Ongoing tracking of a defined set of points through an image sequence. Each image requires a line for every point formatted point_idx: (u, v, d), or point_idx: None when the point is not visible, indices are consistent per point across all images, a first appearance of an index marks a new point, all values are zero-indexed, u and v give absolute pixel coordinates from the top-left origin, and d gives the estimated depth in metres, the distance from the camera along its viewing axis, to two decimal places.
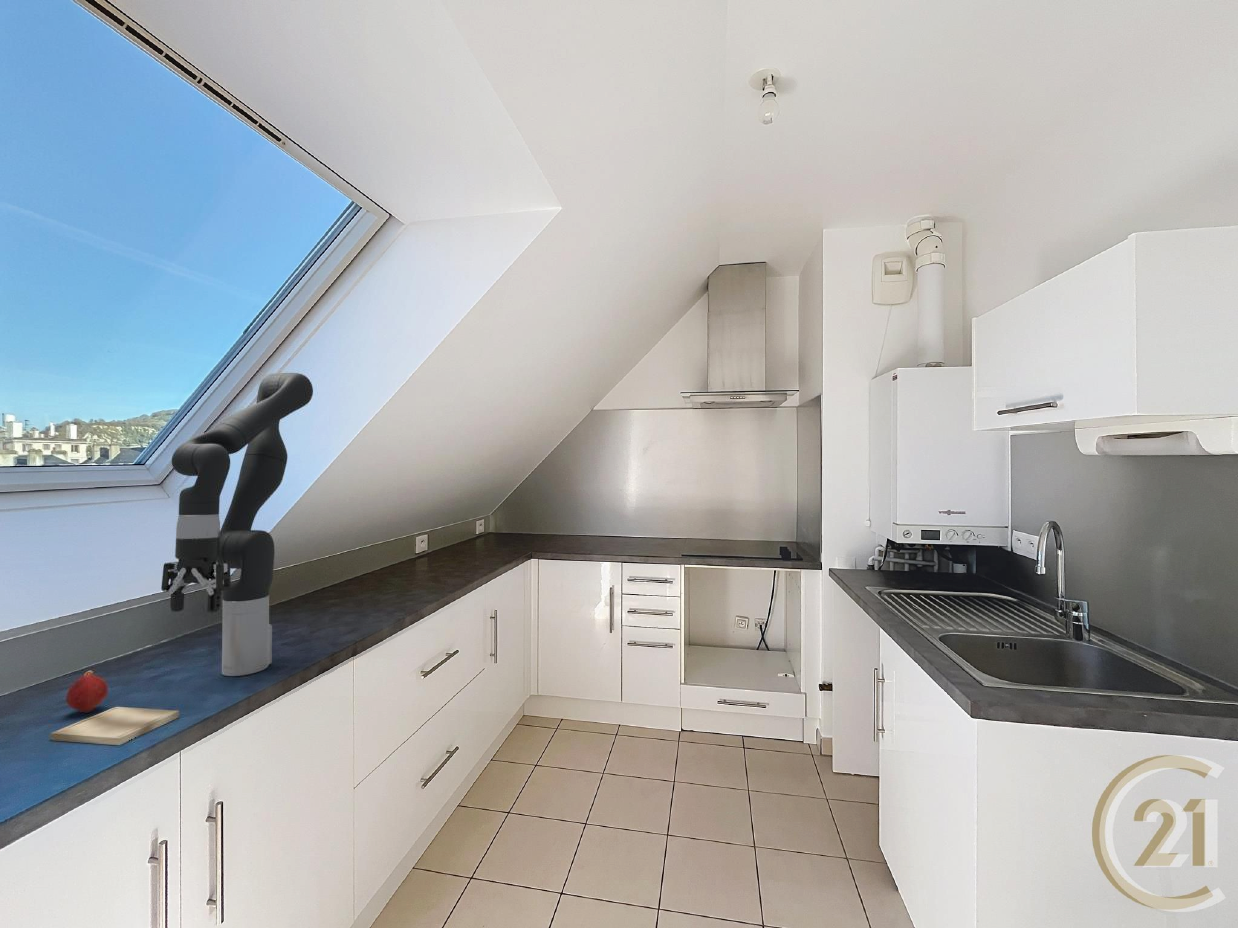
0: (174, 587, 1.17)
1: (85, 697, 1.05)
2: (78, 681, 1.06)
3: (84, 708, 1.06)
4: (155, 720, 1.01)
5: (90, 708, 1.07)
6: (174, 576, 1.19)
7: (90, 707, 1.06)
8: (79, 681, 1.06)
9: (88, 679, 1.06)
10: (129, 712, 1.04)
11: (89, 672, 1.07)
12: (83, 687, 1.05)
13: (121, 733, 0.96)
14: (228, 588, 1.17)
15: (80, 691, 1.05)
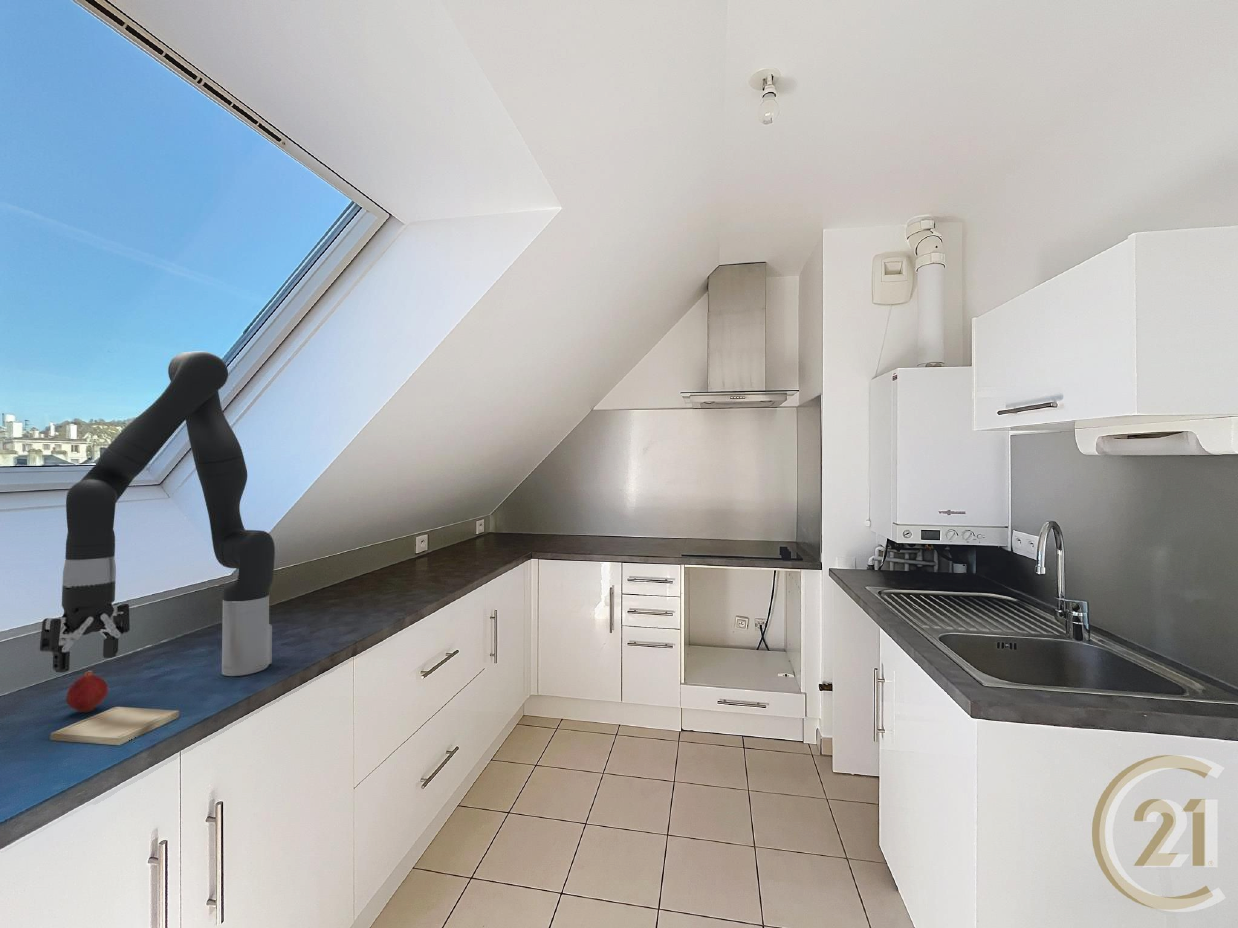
0: (70, 643, 1.03)
1: (85, 697, 1.05)
2: (78, 681, 1.06)
3: (84, 708, 1.06)
4: (155, 720, 1.01)
5: (90, 708, 1.07)
6: None
7: (90, 707, 1.06)
8: (79, 681, 1.06)
9: (88, 679, 1.06)
10: (129, 712, 1.04)
11: (89, 672, 1.07)
12: (83, 687, 1.05)
13: (121, 733, 0.96)
14: None
15: (80, 691, 1.05)
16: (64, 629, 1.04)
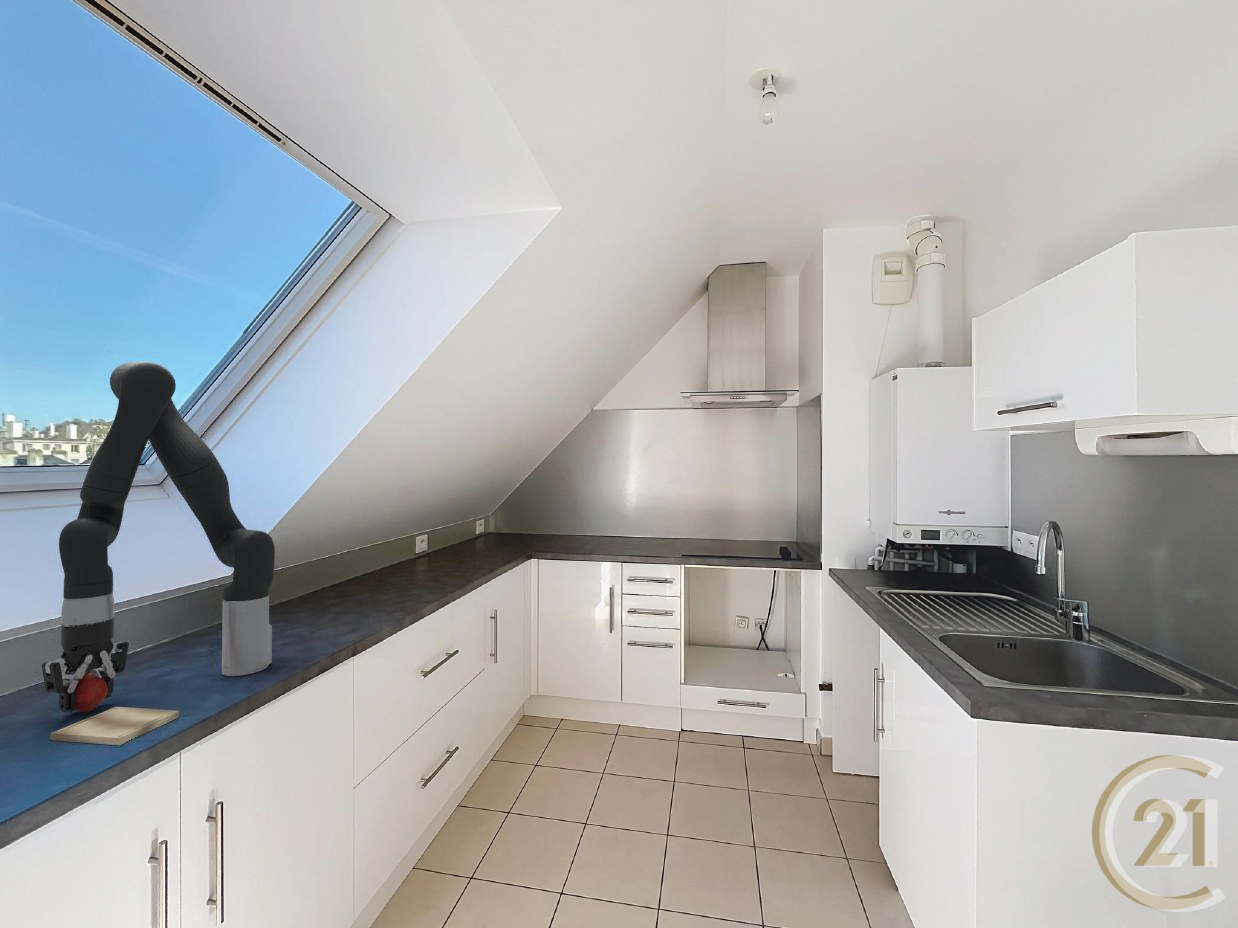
0: (75, 682, 1.04)
1: (85, 697, 1.05)
2: (78, 681, 1.06)
3: (84, 708, 1.06)
4: (155, 720, 1.01)
5: (90, 708, 1.07)
6: None
7: (90, 707, 1.06)
8: (79, 681, 1.06)
9: (88, 679, 1.06)
10: (129, 712, 1.04)
11: (89, 672, 1.07)
12: (83, 687, 1.05)
13: (121, 733, 0.96)
14: None
15: (80, 691, 1.05)
16: (66, 669, 1.05)
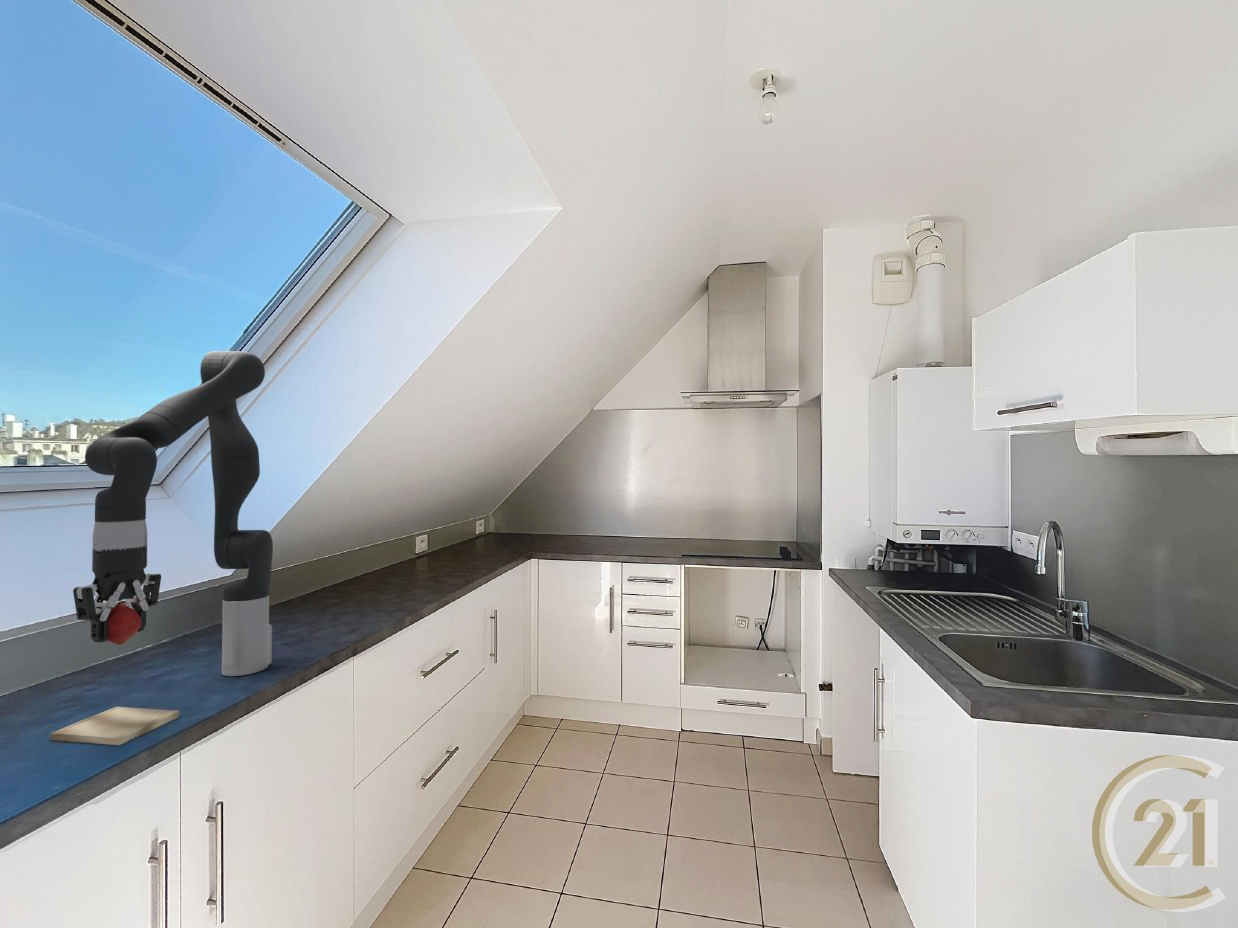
0: (107, 611, 0.98)
1: (118, 627, 0.99)
2: (110, 611, 1.00)
3: (117, 639, 0.99)
4: (155, 720, 1.01)
5: (123, 640, 1.00)
6: None
7: (123, 639, 1.00)
8: (111, 611, 0.99)
9: (121, 609, 1.00)
10: (129, 712, 1.04)
11: (122, 601, 1.01)
12: (115, 617, 0.99)
13: (121, 733, 0.96)
14: None
15: (113, 620, 0.99)
16: (97, 597, 0.98)
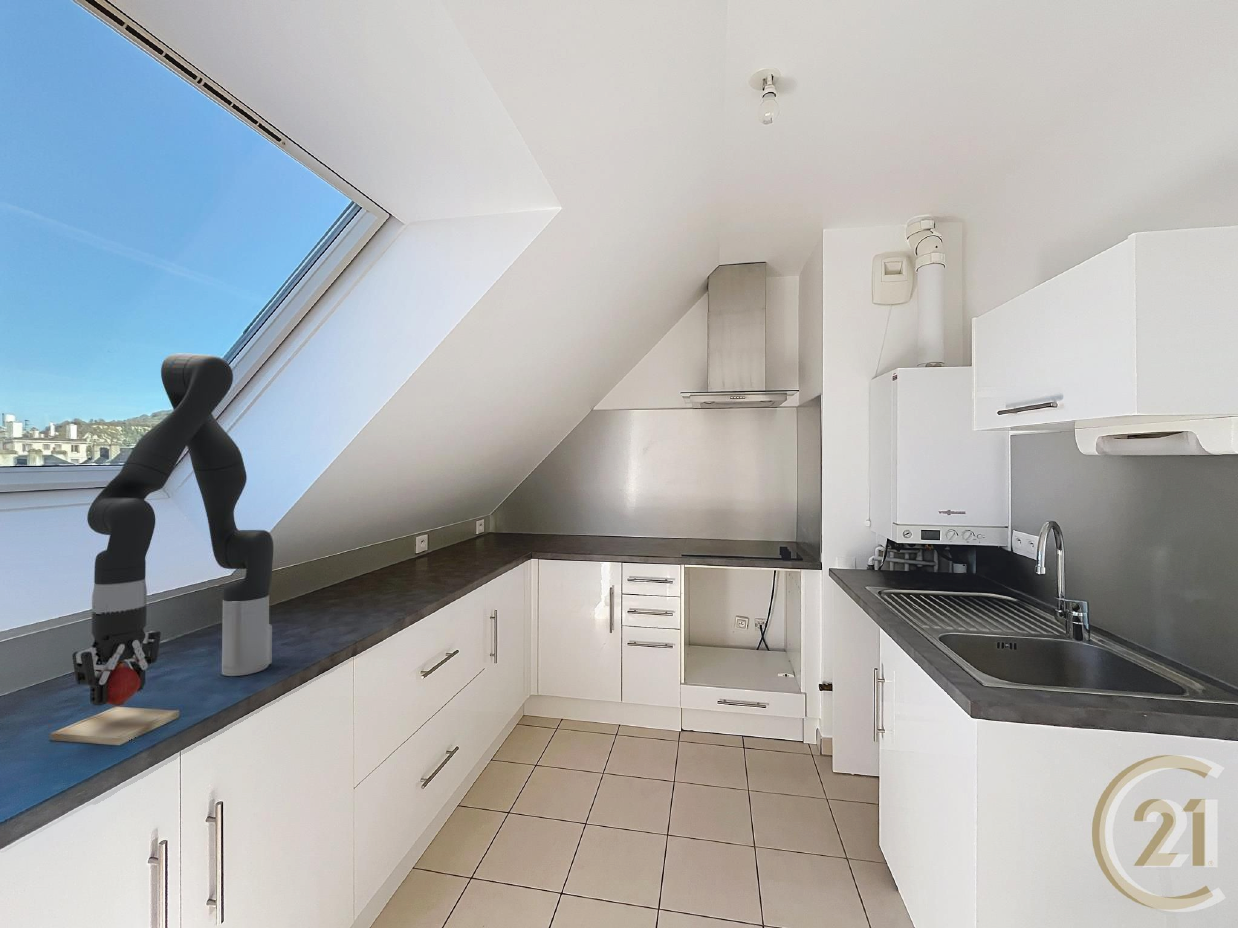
0: (106, 674, 0.97)
1: (117, 689, 0.98)
2: None
3: (116, 701, 0.99)
4: (155, 720, 1.01)
5: (122, 701, 1.00)
6: None
7: (122, 700, 1.00)
8: (111, 672, 0.99)
9: (120, 671, 1.00)
10: (129, 712, 1.04)
11: (121, 662, 1.01)
12: (115, 679, 0.99)
13: (121, 733, 0.96)
14: None
15: (112, 683, 0.98)
16: (97, 659, 0.98)
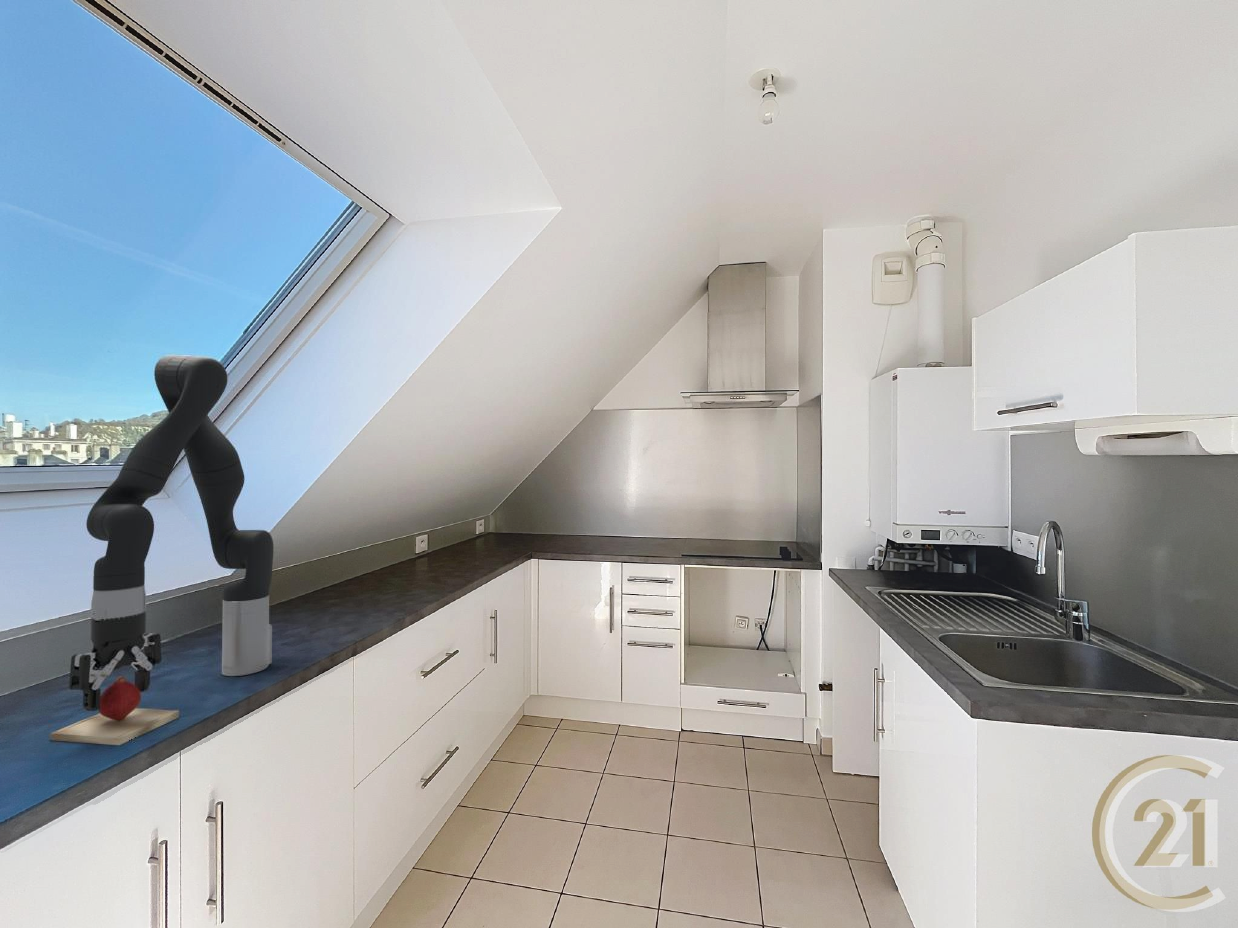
0: (101, 679, 0.97)
1: (118, 705, 0.99)
2: (110, 688, 0.99)
3: (117, 716, 0.99)
4: (155, 720, 1.01)
5: (123, 716, 1.00)
6: None
7: (123, 715, 1.00)
8: (111, 688, 0.99)
9: (120, 686, 1.00)
10: None
11: (121, 677, 1.01)
12: (115, 694, 0.99)
13: (121, 733, 0.96)
14: None
15: (113, 698, 0.98)
16: (94, 664, 0.98)
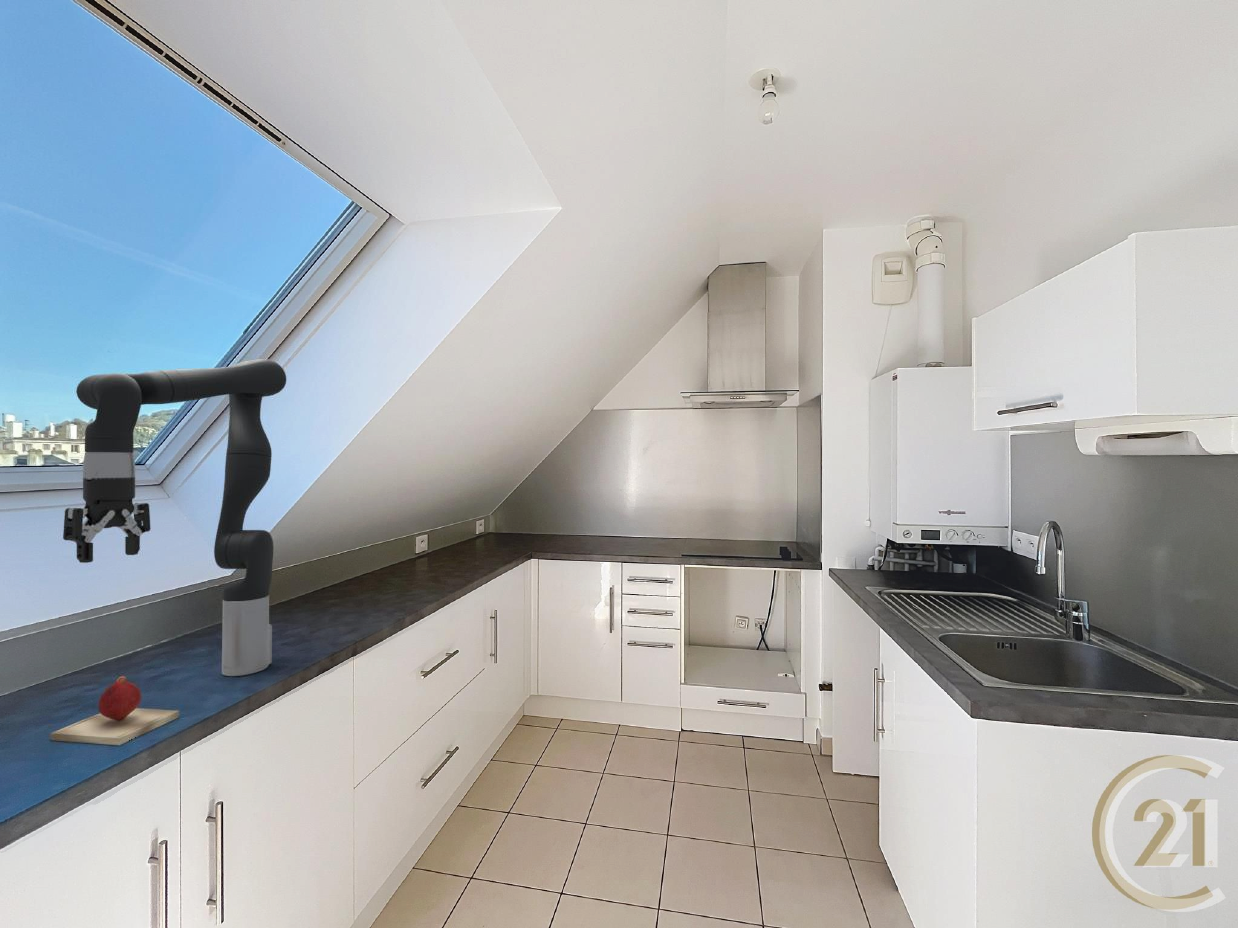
0: (93, 534, 1.03)
1: (118, 705, 0.99)
2: (110, 688, 1.00)
3: (117, 716, 0.99)
4: (155, 720, 1.01)
5: (123, 716, 1.00)
6: None
7: (123, 715, 1.00)
8: (111, 688, 0.99)
9: (121, 686, 1.00)
10: None
11: (122, 677, 1.01)
12: (115, 694, 0.99)
13: (121, 733, 0.96)
14: None
15: (113, 698, 0.99)
16: (86, 521, 1.04)
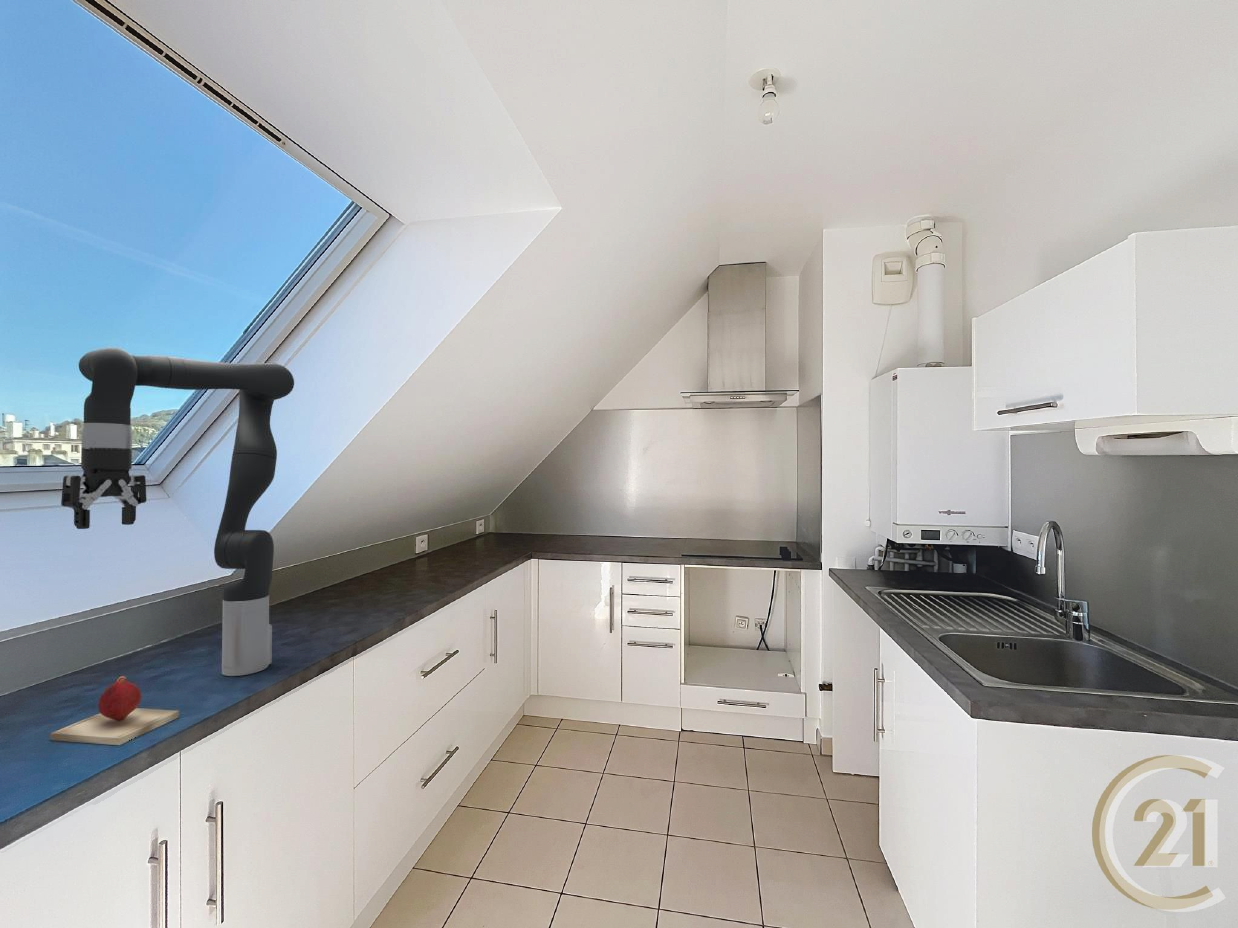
0: (90, 501, 1.07)
1: (118, 705, 0.99)
2: (110, 687, 1.00)
3: (117, 716, 0.99)
4: (155, 720, 1.01)
5: (123, 716, 1.00)
6: None
7: (123, 715, 1.00)
8: (111, 687, 0.99)
9: (121, 686, 1.00)
10: None
11: (122, 677, 1.01)
12: (116, 694, 0.99)
13: (121, 733, 0.96)
14: None
15: (113, 698, 0.99)
16: (84, 490, 1.08)
